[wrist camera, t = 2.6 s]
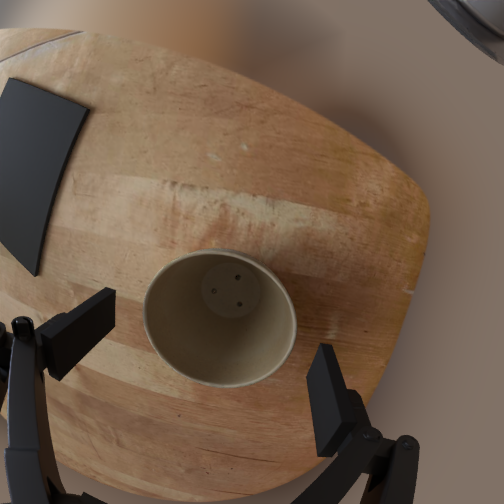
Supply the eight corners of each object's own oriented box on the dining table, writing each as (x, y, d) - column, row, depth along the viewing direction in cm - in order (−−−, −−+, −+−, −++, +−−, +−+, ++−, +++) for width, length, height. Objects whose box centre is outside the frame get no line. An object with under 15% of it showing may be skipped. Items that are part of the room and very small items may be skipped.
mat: (90, 109, 21) (87, 108, 20) (37, 275, 25) (34, 277, 25) (11, 78, 20) (9, 77, 19) (-27, 205, 24) (-29, 206, 24)
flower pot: (232, 356, 25) (219, 407, 18) (155, 283, 24) (117, 317, 17) (314, 292, 23) (329, 334, 16) (232, 205, 22) (214, 214, 15)
